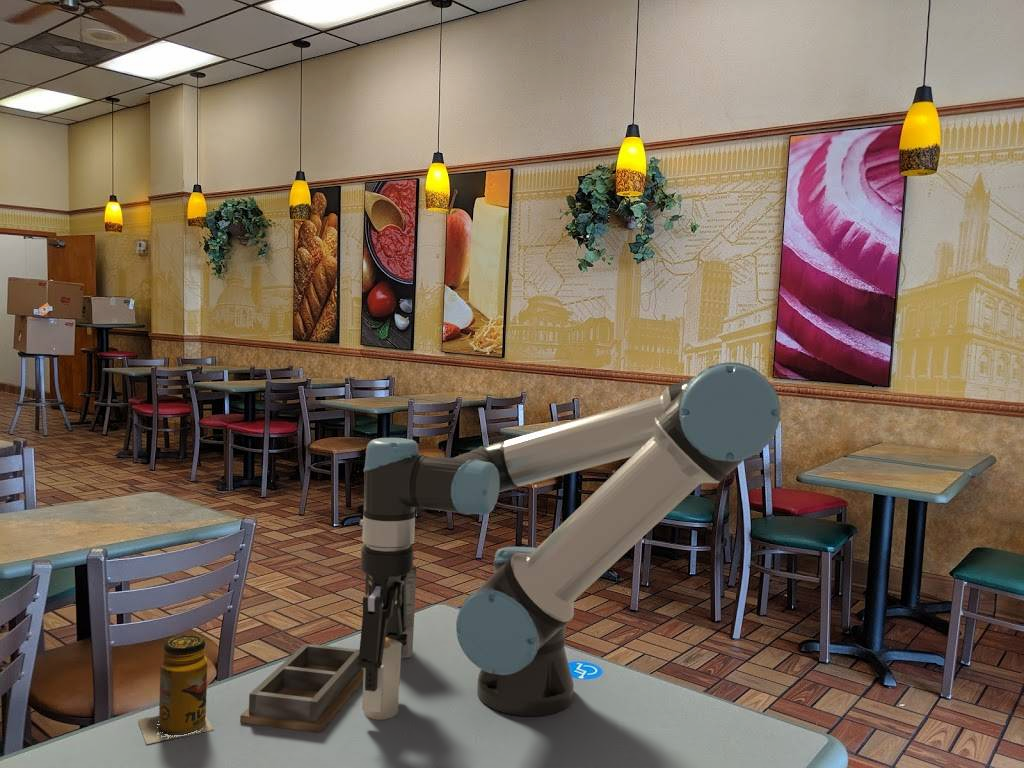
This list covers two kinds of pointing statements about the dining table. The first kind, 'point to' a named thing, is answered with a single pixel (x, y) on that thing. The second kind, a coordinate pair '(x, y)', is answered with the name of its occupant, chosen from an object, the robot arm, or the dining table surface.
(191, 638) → the condiment
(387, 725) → the dining table surface
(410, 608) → the coffee box
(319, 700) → the grey wooden tray
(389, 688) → the cylinder
